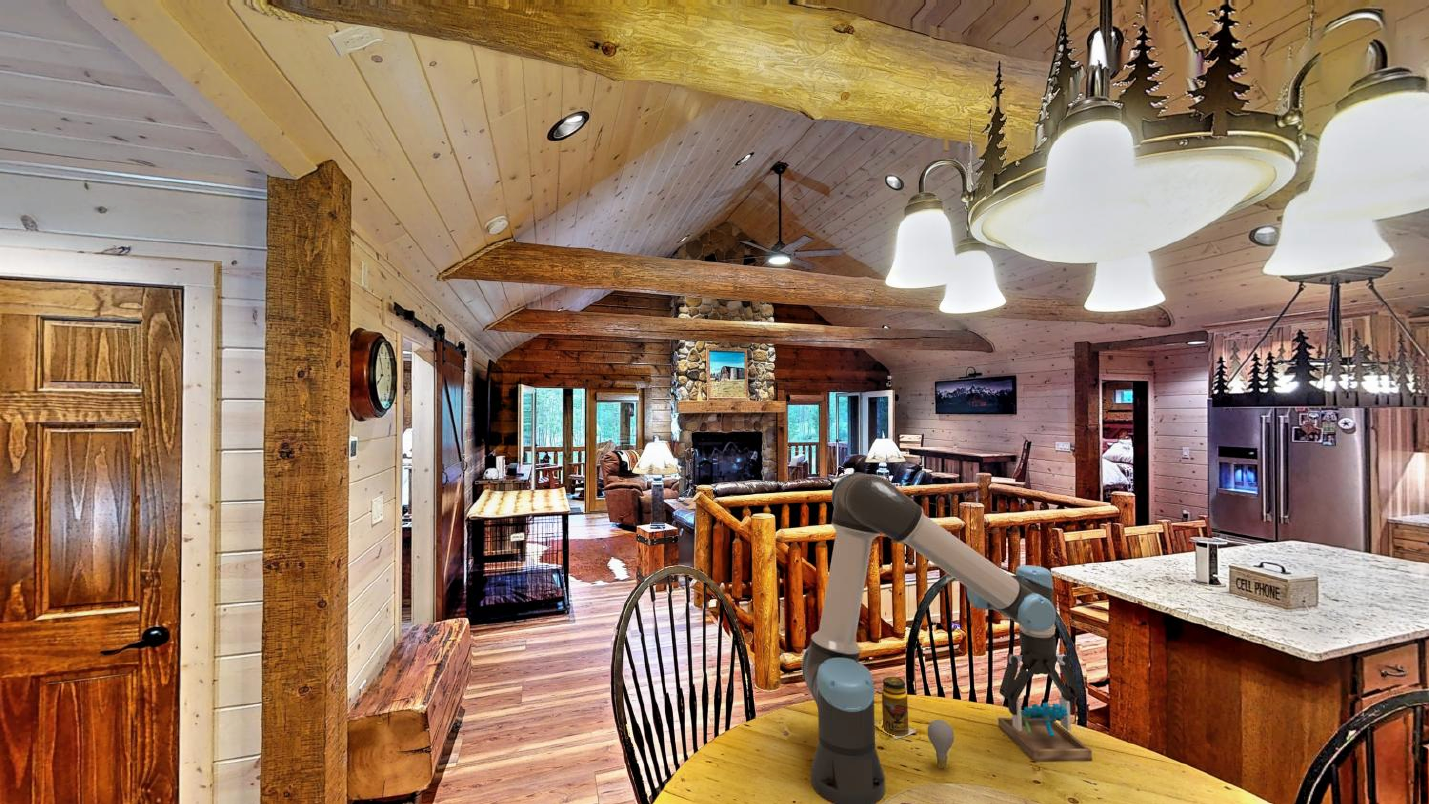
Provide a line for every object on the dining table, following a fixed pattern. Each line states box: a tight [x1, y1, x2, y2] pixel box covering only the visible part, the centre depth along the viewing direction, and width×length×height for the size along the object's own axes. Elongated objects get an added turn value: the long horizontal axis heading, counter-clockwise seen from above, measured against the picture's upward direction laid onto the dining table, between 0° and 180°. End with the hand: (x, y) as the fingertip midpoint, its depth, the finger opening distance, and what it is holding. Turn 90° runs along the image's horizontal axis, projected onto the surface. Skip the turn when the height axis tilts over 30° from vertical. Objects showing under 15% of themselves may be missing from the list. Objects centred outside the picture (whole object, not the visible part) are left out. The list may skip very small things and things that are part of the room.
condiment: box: [875, 676, 918, 740], centre depth 137 cm, size 7×8×12 cm
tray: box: [997, 717, 1093, 763], centre depth 130 cm, size 13×15×2 cm
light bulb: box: [927, 718, 955, 770], centre depth 120 cm, size 6×6×10 cm
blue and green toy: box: [1021, 702, 1068, 737], centre depth 129 cm, size 11×6×10 cm
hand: (1041, 727), depth 130 cm, fingers closed on blue and green toy, 11 cm apart
